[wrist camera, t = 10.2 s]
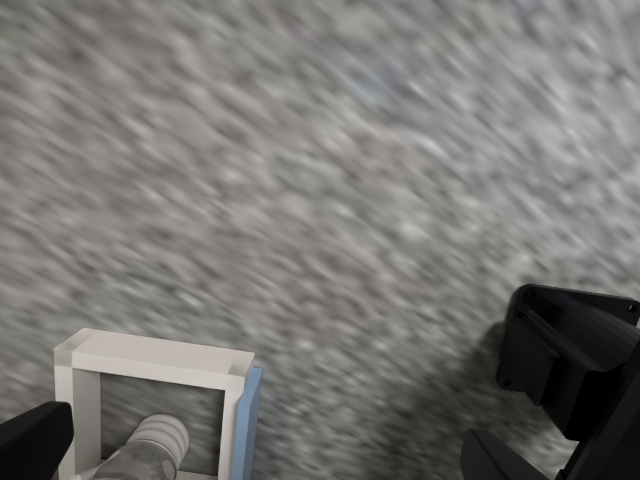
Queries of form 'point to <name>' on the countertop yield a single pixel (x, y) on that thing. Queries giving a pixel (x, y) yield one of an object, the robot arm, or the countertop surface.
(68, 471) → the white tray
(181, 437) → the light bulb
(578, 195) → the countertop surface
